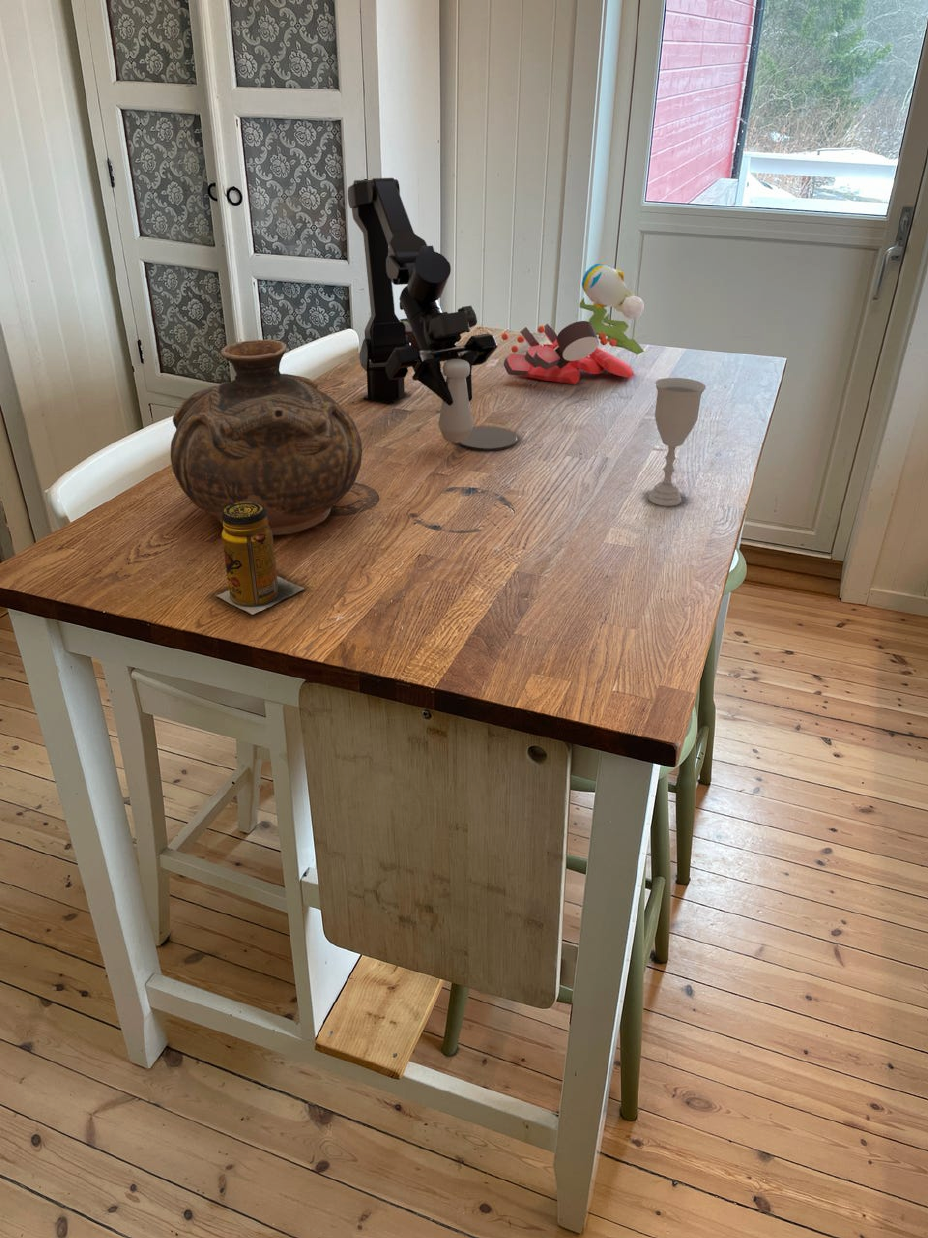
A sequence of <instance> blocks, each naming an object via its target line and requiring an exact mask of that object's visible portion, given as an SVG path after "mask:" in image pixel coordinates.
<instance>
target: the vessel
mask: <svg viewBox="0 0 928 1238" xmlns="http://www.w3.org/2000/svg"><path fill="white" fill-rule="evenodd" d="M287 348H288V345H287V344H286V343H285V342H283V341H280V340H274V339H255V340H254V339H253V340H245V341H237V342H233V343H231V344H227V345H226V346H224V347H223V348H222V349H221V351H220V354H221V356H222V357H223V358H225V359H226V360H227V361H228V362H229V363H230V364H231V365H232V367H233V370H234V372H235V376H234V380H231V381H229V382H222V383H219V384H217V385H212V386H209V387H207V388H204V389H201V390H199V391H197V392H196V391H195V392H194V393H193V394H192V395H190V396H189V397H188V398H186V399H184V401H183V402H182V403H181V404H180V406H179V407H178V408H177V410H176V411H175V412H174V413H173V417H172V423H173V426H174V428H175V431H174V434H173V437H172V439H171V443H170V462H171V467H172V473H173V475H174V476H175V479H176V481H177V483H178V485H179V487H180V489H181V490H182V492H183V493H184V494H185V495H186V496H187V498H188V499H189V500H190V501H191V502H192V503H193V504H194V505H195V506H196V507H198V508H199V509H201V510H202V511H204V512H206V513H208V514H210V515H211V516H214V517H216V518H217V520H218V521H219V522H220V523H221V524H222V525H223V518H222V511H223V510H224V509H225V508H226V507H227V506H229V505H231V504H234V503H238V502H256V503H259V504H261V505H263V506H264V507H265V509H266V510H267V514H266V516H267V519H268V525H269V526H270V527H271V529H272V535H273V536H281V535H290V534H291V535H292V534H295V533H296V534H297V533H300V532H303V531H305V530H308V529H310V528H314V527H316V526H317V525H319V524H321V523H322V522H324V521H325V520H327V518H328V517H329V515H330V513H331V511H332V507H334V506H335V505H336V504H338V503H339V502H340V501H341V500H342V499H343V498H344V497H345V496H346V495H347V494H348V492H349V491H350V490H351V488H352V487H353V485H354V484H355V481H356V479H357V477H358V474H359V472H360V469H361V465H362V457H363V447H362V446H363V445H362V439H361V436H360V433H359V430H358V428H357V425H356V423H355V421H354V420H353V419H352V418H351V416H350V415H349V414H348V412H347V411H346V410H345V409H344V408H343V407H342V406H341V405H340V404H339V403H338V402H337V401H336V400H335V399H333V398H332V397H331V396H329V395H328V394H326V393H325V392H323V391H321V390H319V389H318V384H317V383H316V382H315V381H314V380H312V379H310V378H307V377H304V376H300V375H294V374H289V373H281V372H280V366H281V363H282V359H283V357H284V356H285V353H286V351H287Z"/></svg>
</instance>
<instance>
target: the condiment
mask: <svg viewBox="0 0 928 1238" xmlns="http://www.w3.org/2000/svg"><path fill="white" fill-rule="evenodd" d="M266 514H267V510H266V509H265V507H264V506H263V505H261V504H259V503H256V502H238V503H234V504H231V505H229V506H227V507H226V508H225V509H224V510H223V511H222V518H223V524H222V527H223V530H222V532H221V541H222V542H221V543H222V547H223V556H224V562H225V569H226V570H225V571H226V577H227V585H228V590H226V591H223V592H222V593H219V594H215V596H216V597H217V598H219V599H221V600H223V601H225V602H226V603H228V604H230V605H232V606H234V607H236V608H238V609H240V610H242V611H245V612H247V613H248V614H250V615H252V616H253V615H256V614H258V613H259V612H262V611H264V610H266V609H268V608H271V607H273V606H274V605H276V604H278V603H279V602H282V601H283V600H284V599H287V598H290V597H292V596H294V595H296V594H297V593H298V592H300V591H303V590H305V589H306V588H305V587H304V586H300V585H297V584H296V583H293V582H290V581H288V580H286V579H283V578H282V577H280V576H279V575H278V574H277V573H278V572H277V563H276V556H275V555H276V554H275V546H274V535H272V529H271V527H270V526H269V525H268V519H267V516H266Z"/></svg>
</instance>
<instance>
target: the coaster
mask: <svg viewBox="0 0 928 1238" xmlns="http://www.w3.org/2000/svg"><path fill="white" fill-rule="evenodd" d="M517 442H518V436H517V435H516V433H515V432H513V431H511V430H509V429H507V428H502V427H498V426H489V425H488V426H487V425H486V426H473V429H472V431H471V432H470V434H469V436H468V438H467V440H466V441H463V442H458V443H457V444H458V446H460V447H463V448H466V449H468V450H474V451H481V452H482V451H483V452H493V451H501V450H502V451H503V450H506V449H509V448H511V447H513V446H515V445H516V444H517Z"/></svg>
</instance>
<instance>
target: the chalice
mask: <svg viewBox="0 0 928 1238" xmlns="http://www.w3.org/2000/svg"><path fill="white" fill-rule="evenodd" d="M654 384H655V387H656V391H657V395H656V403H655V411H654V419H655V423H656V429H657V430H658V434H659V436H660V439H661V442H662V444H664V445H665V446H667V450H668V451H667V454H666V456H665V457H664V459H665V462H666V463H665V466H664V467H663V468H662V471H664V478H663V480H662V481H660V482H658V483H656V484H655V485H654V488H653V489H652V490H651V493H650V494H649V495H648V500H649V501H650V502H652V503H653V504H656V505H659V506H666V507H667V506H668V507H669V506H677V505H679V504H681V503H682V501H683V500H682V497H681V493H680V491H679V487H678V486H677V485H676V484H675V483H674V482H673V481H672V476H673V473H674V472H675V471H676V470H675V468H674V462H675V461H676V460H677V457H676V453H675V450H676V448H677V447H680V446H682V445H683V444H684V442H685V441H686V440H687V438H688V437H689V435H690V434H691V432H692V431H693V429H694V428H695V425H696V423H697V421H698V417H699V411H700V404H701V397H702V394H703V392H704V391H705V390H706V389H707V385H706V384H704V383H703V382H701V381H698V380H695V379H691V378H683V377H665V378H660V379H658V380H656V381H655V382H654Z"/></svg>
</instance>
